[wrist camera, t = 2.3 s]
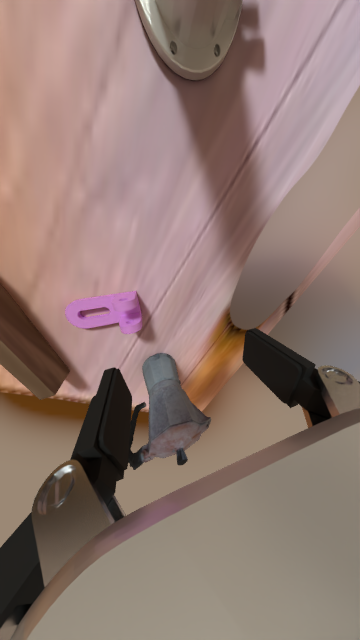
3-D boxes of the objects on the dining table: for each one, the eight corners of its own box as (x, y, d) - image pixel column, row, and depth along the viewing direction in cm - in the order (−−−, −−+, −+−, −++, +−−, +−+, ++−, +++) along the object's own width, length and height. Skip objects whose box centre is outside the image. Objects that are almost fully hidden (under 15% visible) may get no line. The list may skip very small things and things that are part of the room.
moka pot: (188, 366, 39) (225, 455, 22) (138, 388, 38) (136, 501, 20) (179, 342, 35) (217, 430, 17) (122, 366, 33) (101, 488, 16)
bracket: (136, 290, 27) (134, 300, 21) (142, 315, 29) (142, 331, 23) (63, 301, 24) (37, 316, 18) (76, 327, 27) (57, 348, 21)
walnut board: (-23, 255, 19) (-85, 254, 14) (70, 370, 30) (55, 395, 25) (-44, 258, 19) (-117, 259, 13) (58, 374, 30) (40, 399, 24)
